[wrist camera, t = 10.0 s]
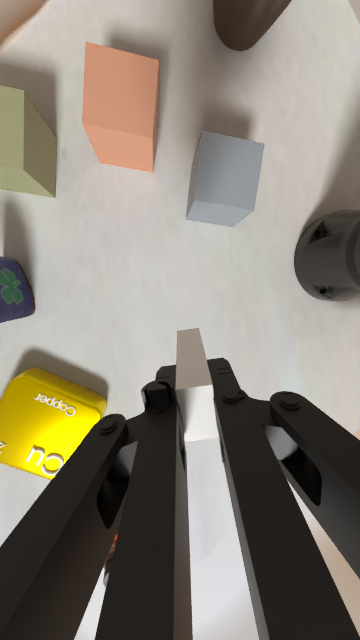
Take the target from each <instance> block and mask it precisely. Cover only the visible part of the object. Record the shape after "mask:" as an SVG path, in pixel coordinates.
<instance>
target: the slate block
mask: <svg viewBox="0 0 360 640" xmlns="http://www.w3.org/2000/svg"><path fill="white" fill-rule="evenodd" d="M263 150H264V143H259V142H254V141H250V140H245V139H241V138H236V137H232V136H227V135H222V134H218V133H213V132H209V131H204V130H203V131H202V135H201V138H200V141H199V145H198V148H197V151H196V155H195V158H194V161H193V164H192V170H191V179H190V188H189V196H188V205H187V214H186V220H192V221H198V222H204V223H210V224H216V225H223V226H229V227H233V226H235V225H236V224H237V223H239V222H240V221H241V220H242V219H244V218H245V217H246V216H248V215H249V214H250V213H251V212H253V211H254V207H255V201H256V194H257V188H258V181H259V175H260V169H261V162H262V156H263Z"/></svg>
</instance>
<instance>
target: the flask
mask: <svg viewBox="0 0 360 640" xmlns="http://www.w3.org/2000/svg"><path fill="white" fill-rule="evenodd" d="M34 312H35V302H34V297H33V292H32V290H31V286H30V285H29V283H28V280H27V278H26V276H25V273H24V271H23V270H22V267H21V266H20V265H19V263H18V262H17V261H16V260H14V259H12V258H6V257H0V323H2V322H5V321H10V320H14V319H19V318H23V317H27V316H30V315H32V314H34Z"/></svg>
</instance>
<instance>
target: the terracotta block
mask: <svg viewBox="0 0 360 640" xmlns="http://www.w3.org/2000/svg"><path fill="white" fill-rule="evenodd" d="M158 98H159V60H157V59H153V58H149V57H145V56H141V55H137V54H133V53H129V52H125V51H121V50H117V49H113V48H109V47H105V46H101V45H97V44H93V43H89V42H86V46H85V70H84V94H83V117H82V124H83V126H84V128H85V131H86V133H87V135H88V137H89V140H90V142H91V144H92V146H93V148H94V151H95V153H96V155H97V157H98V159H99V162H100V163H103V164H109V165H114V166H120V167H125V168H131V169H136V170H142V171H147V172H153V169H154V158H155V146H156V135H157V123H158Z"/></svg>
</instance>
